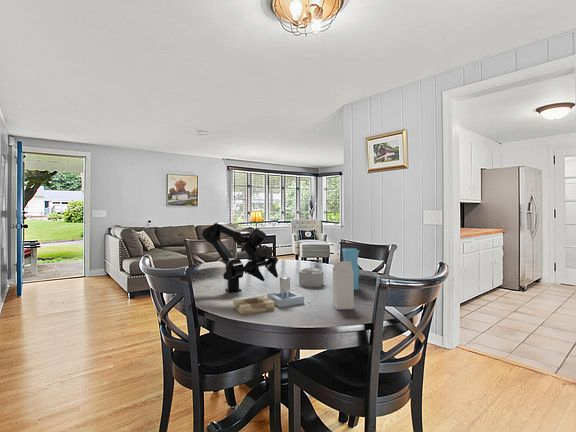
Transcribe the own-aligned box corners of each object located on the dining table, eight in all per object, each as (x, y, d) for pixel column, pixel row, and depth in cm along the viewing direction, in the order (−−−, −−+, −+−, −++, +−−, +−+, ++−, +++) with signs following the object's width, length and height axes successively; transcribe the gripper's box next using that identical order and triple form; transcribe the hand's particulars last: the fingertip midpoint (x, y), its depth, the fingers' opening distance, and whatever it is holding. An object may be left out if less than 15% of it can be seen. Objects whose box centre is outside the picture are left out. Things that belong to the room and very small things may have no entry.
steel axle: (278, 300, 146) (278, 278, 145) (284, 298, 149) (283, 276, 149) (286, 302, 143) (286, 279, 143) (292, 299, 147) (291, 277, 146)
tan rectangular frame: (233, 307, 138) (233, 300, 138) (263, 302, 144) (263, 296, 144) (242, 314, 129) (242, 307, 128) (274, 309, 135) (274, 301, 135)
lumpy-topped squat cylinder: (319, 287, 172) (319, 271, 172) (296, 285, 177) (296, 269, 176) (324, 283, 182) (324, 267, 182) (302, 281, 186) (302, 266, 186)
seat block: (267, 300, 148) (267, 293, 148) (290, 296, 154) (290, 290, 154) (279, 307, 138) (279, 300, 138) (304, 303, 144) (304, 296, 144)
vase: (359, 289, 166) (359, 250, 166) (343, 289, 166) (343, 250, 166) (356, 286, 174) (356, 248, 174) (341, 286, 174) (341, 248, 174)
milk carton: (332, 304, 141) (332, 260, 140) (349, 304, 141) (348, 260, 141) (336, 310, 134) (336, 263, 133) (353, 309, 134) (353, 262, 134)
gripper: (247, 243, 146) (266, 271, 140) (275, 240, 161) (293, 265, 154) (235, 259, 152) (252, 286, 145) (263, 254, 166) (280, 279, 159)
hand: (270, 278), depth 151 cm, fingers open, 9 cm apart
